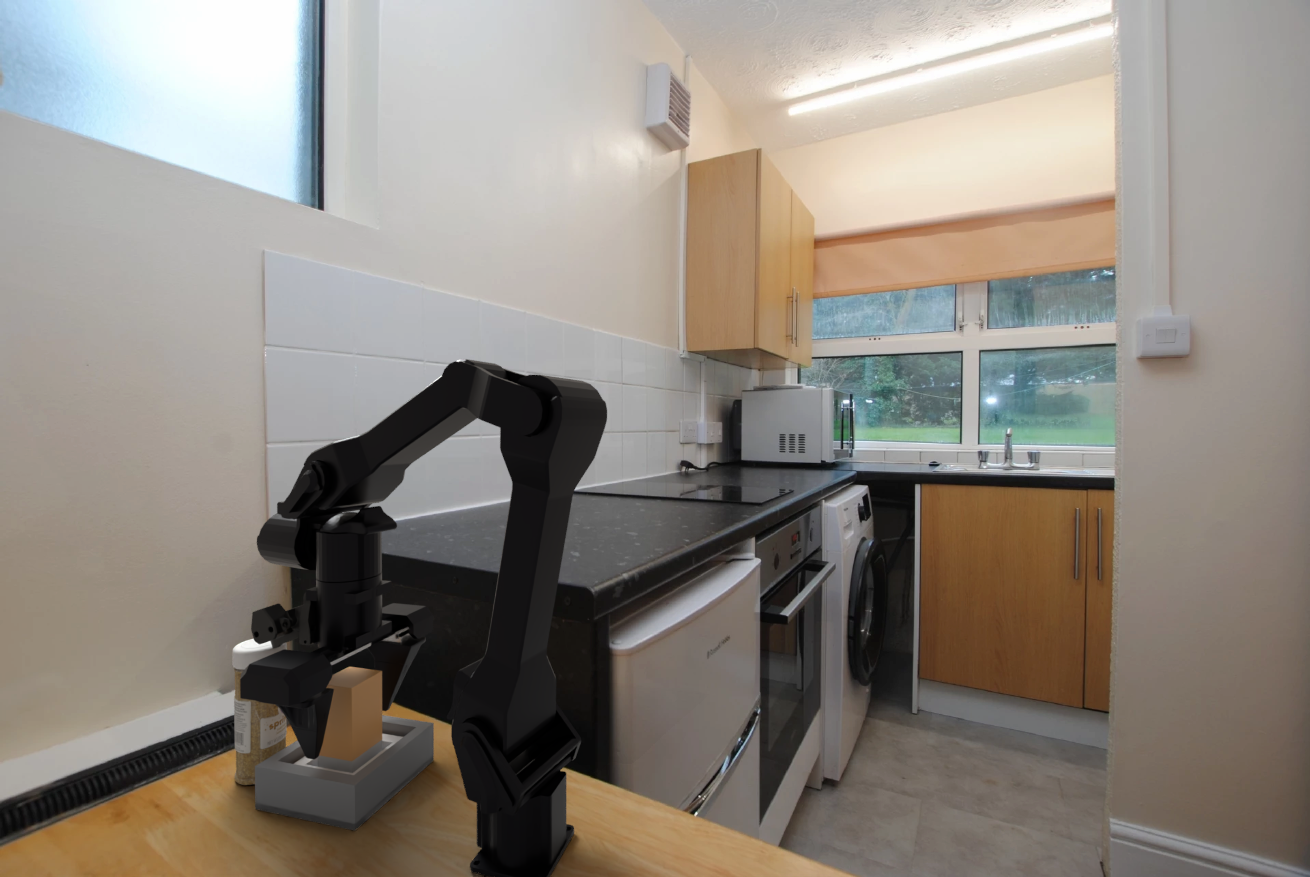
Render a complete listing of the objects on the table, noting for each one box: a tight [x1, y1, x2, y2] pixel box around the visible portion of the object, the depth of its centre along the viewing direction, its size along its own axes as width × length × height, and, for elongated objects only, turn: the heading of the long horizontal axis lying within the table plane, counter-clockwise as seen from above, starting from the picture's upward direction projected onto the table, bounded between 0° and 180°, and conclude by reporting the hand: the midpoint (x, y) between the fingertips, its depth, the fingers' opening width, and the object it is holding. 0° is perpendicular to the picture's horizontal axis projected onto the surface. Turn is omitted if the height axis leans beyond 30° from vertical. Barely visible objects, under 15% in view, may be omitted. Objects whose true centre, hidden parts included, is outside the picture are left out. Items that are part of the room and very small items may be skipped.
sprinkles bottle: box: [231, 638, 288, 786], centre depth 58 cm, size 5×5×14 cm
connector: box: [318, 666, 383, 773], centre depth 57 cm, size 4×4×10 cm
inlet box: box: [254, 714, 435, 832], centre depth 57 cm, size 11×11×4 cm
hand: (350, 732), depth 57 cm, fingers open, 9 cm apart
